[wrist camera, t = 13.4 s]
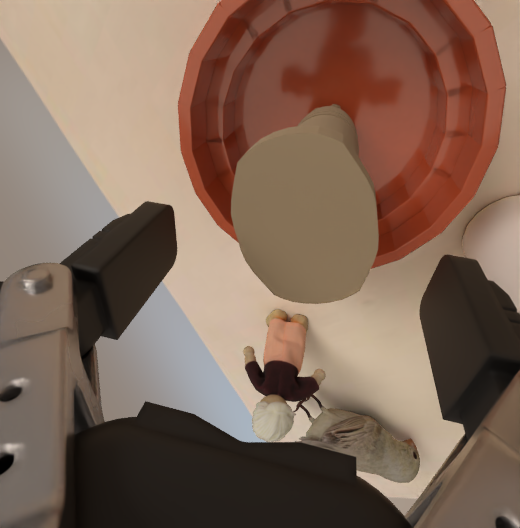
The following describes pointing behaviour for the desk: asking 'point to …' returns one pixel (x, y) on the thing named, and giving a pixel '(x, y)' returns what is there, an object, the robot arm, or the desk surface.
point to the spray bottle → (497, 244)
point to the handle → (307, 209)
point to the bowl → (351, 100)
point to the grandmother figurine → (280, 375)
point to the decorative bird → (363, 443)
